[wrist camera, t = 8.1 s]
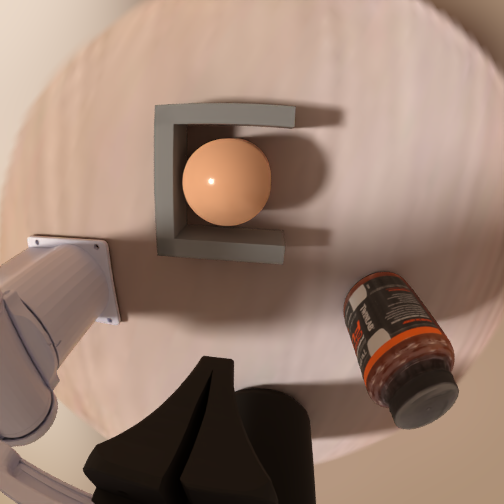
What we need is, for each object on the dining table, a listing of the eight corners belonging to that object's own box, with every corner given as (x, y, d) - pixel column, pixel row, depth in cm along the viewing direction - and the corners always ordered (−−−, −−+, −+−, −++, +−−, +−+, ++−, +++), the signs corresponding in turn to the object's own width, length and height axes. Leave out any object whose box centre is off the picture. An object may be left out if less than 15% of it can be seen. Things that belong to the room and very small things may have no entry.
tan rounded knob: (196, 208, 21) (182, 223, 17) (198, 137, 19) (183, 137, 16) (267, 213, 20) (267, 229, 17) (273, 140, 19) (274, 141, 15)
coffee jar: (190, 397, 28) (148, 553, 11) (286, 371, 26) (288, 565, 9) (238, 445, 31) (223, 573, 15) (321, 426, 29) (333, 569, 12)
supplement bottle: (329, 291, 22) (364, 407, 12) (397, 255, 21) (474, 348, 10) (355, 342, 24) (388, 450, 14) (415, 310, 23) (474, 406, 12)
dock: (171, 239, 21) (157, 255, 19) (171, 108, 18) (155, 105, 15) (281, 246, 21) (283, 264, 18) (291, 111, 18) (295, 106, 15)
